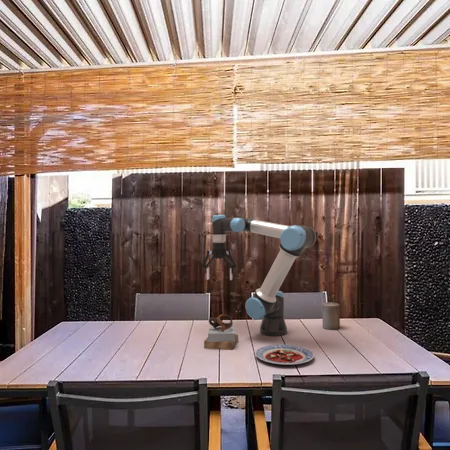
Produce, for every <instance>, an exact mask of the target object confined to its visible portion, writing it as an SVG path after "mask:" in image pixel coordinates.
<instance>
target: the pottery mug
mask: <svg viewBox="0 0 450 450" xmlns="http://www.w3.org/2000/svg"><path fill="white" fill-rule="evenodd" d="M225 319H227V320H228V321H229V322H223V320H225ZM208 323H209V325H210V326H211V327H213V328H216V327H220V326H222V328H221V331H223V332H224V331H225V330H226V329H229V328H230V327H231V326H233V324H234V322H233V318H232V317H231V316H230V315H228V314H219V316H217V317H214V316H213V317H209V319H208Z"/></svg>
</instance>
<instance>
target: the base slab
mask: <svg viewBox="0 0 450 450" xmlns="http://www.w3.org/2000/svg"><path fill="white" fill-rule="evenodd" d="M238 342H239V334H235V342H208V337H206V339H204V340H203V348H204V349H215V350H230V351H232V350H234V348H235V347H236V345H237V344H238Z"/></svg>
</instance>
